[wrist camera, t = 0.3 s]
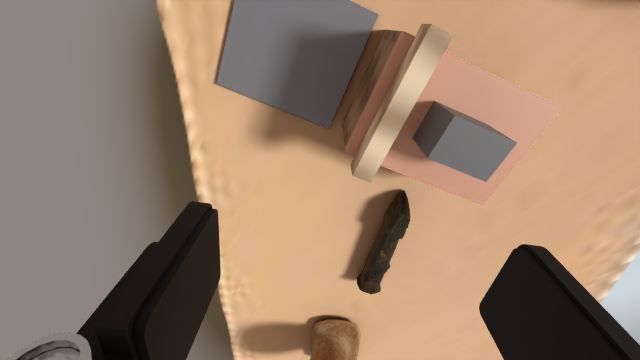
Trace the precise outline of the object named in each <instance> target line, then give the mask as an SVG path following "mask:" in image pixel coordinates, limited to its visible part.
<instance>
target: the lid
mask: <svg viewBox="0 0 640 360" xmlns="http://www.w3.org/2000/svg"><path fill="white" fill-rule="evenodd" d="M414 39H415V36H413V35H411V34H409V33H406V32H404V31H401V33H400V35H399V37H398V39H397V41H396V44H395V46H394V48H393V50H392V52H391V54H390V56H389V58H388V60H387V62H386V64H385V66H384V68H383V71H382V73H381V75H380V77H379V79H378V81H377V83H376V85H375V87H374V89H373V91H372V93H371V96H370V98H369V100H368V102H367V104H366V106H365V108H364V110H363V112H362V114H361V116H360V118H359V120H358V123H357V125H356V127H355V129H354V131H353V133H352V135H351V137H350V139H349V141H348V143H347V145H346V147H345V150H346V153H349V154H351V155H354V156H355V155H356V153H357V151H358V149H359V147H360V145H361V143H362V141H363V139H364V137H365V135H366V133H367V131H368V129H369V127H370V125H371V123H372V121H373V120H374V118H375V116H376V114H377V112H378V110H379V108H380V106H381V104H382V102H383V100H384V98H385V96H386V94H387V92H388V90H389V88H390V86H391V84H392V82H393V80H394V78H395V76H396V74H397V72H398V70H399V68H400V66H401V64H402V62H403V60H404V58H405V56H406V54H407V52H408V50H409V49H410V47H411V45H412V43H413V41H414ZM562 109H563V107H561V106H559V105H557V104H554V103H552V102H550V101H548V100H546V99H544V98H542V97H540V96H538V95H536V94H534V93H532V92H529V91H527V90H525V89H523V88H521V87H519V86H517V85H515V84H513V83H511V82H509V81H507V80H504V79H502V78H500V77H498V76H496V75H494V74H492V73H490V72H488V71H486V70H484V69H482V68H479V67H477V66H475V65H473V64H471V63H469V62H467V61H465V60H463V59H461V58H459V57H457V56H454V55H452V54H450V53H448V52H446V51H445V52H444V54H443V56H442V57H441V59H440V61H439V63H438V64H437V66H436V68H435V70H434V72H433V73H432V75H431V77H430V79H429V80H428V82H427V84H426V86H425V87H424V89H423V91H422V93H421V95H420V96H419V98H418V100H417V102H416V103H415V105H414V107H413V109H412V110H411V112H410V114H409V116H408V118H407V119H406V121H405V123H404V125H403V126H402V128H401V130H400V132H399V134H398V135H397V137H396V139H395V141H394V142H393V144H392V146H391V148H390V149H389V151H388V153H387V155H386V157H385V158H384V160H383V162H382V164H381V165H380V166H382V167H385V168H387V169H390V170H392V171H395V172H398V173H400V174H403V175H405V176H408V177H410V178H413V179H415V180H418V181H421V182H423V183H426V184H428V185H431V186H433V187H436V188H439V189H441V190H444V191H446V192H449V193H451V194H454V195H457V196H459V197H462V198H464V199H467V200H469V201H472V202H475V203H477V204H480V205H482V206H483V205H484V204H485V202H486V201H487V200H488V199H489V198H490V196H491V195H492V194H493V193H494V192H495V190H496V189H497V188H498V187H499V185H500V184H501V183H502V182H503V181H504V179H505V178H506V177H507V176H508V175H509V173H510V172H511V171H512V170H513V168H514V167H515V166H516V165H517V164H518V162H519V161H520V160H521V159H522V158H523V156H524V155H525V154H526V153H527V151H528V150H529V149H530V148H531V147H532V145H533V144H534V143H535V142H536V141H537V139H538V138H539V137H540V136H541V134H542V133H543V132H544V131H545V130H546V128H547V127H548V126H549V125H550V124H551V122H552V121H553V120H554V119H555V118H556V116H557V115H558V114H559V113H560V111H561V110H562Z"/></svg>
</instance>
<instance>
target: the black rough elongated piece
mask: <svg viewBox="0 0 640 360" xmlns="http://www.w3.org/2000/svg"><path fill="white" fill-rule="evenodd" d="M409 222H410V209H409V204H408V198H407V196H406V193H405V191H404V190H403V191H401V192H400V193H399V194H398V195H397V197H396V198H395V199H394V200H393V202H392V203H391V205H390V207H389V209H388V210H387V212H386V213H385V215H384V222H383V225H382V227H381V230H380V232H379V234H378V236H377V238H376V240H375V242H374V245H373V248H372V250H371V253H370V254H369V257H368V259H367V261H366V264H365V267H364V270H363V272H362V274H359V275H358V276H357V284H358V287H359V289H360V290H361V291H363V292H366V293H370V294H375V293H377V292H380V291H381V287H380V283H381V281H382V278H383V276H384V274H385V273H386V272H387V270H388V269H389V268H390V260H391V257H392V255H393V253H394V251H395V249H396V246H397V243H398V241H399V239H402V238H403V237H404V234H405V232H406V228H408V224H409Z"/></svg>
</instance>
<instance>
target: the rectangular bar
mask: <svg viewBox="0 0 640 360" xmlns="http://www.w3.org/2000/svg"><path fill="white" fill-rule="evenodd" d="M453 36H454V35H453V34H450V33H448V32H446V31H444V30H442V29H440V28H438V27H436V26H434V25H432V24H422V25H421V27H420V29H419V31H418V33H417V35H416V37H415V39H414V41H413V43H412V45H411V47H410V49H409V50H408V52H407V54H406V56H405V58H404V60H403V62H402V64H401V66H400V68H399V70H398V72H397V74H396V76H395V78H394V80H393V82H392V84H391V86H390V88H389V90H388V92H387V94H386V96H385V98H384V100H383V102H382V104H381V106H380V108H379V110H378V112H377V114H376V116H375V118H374V120H373V121H372V123H371V125H370V127H369V129H368V131H367V133H366V135H365V137H364V139H363V141H362V143H361V145H360V147H359V149H358V151H357V153H356V155H355V157H354V159H353V161H352V163H351V170H352V176H355V177H357V178H360V179H363V180H365V181H368V182H371V181H372V180H373V178H374V176H375V174H376V172H377V171H378V169H379V167H380V165H381V164H382V162H383V160H384V158H385V157H386V155H387V153H388V151H389V149H390V148H391V146H392V144H393V142H394V141H395V139H396V137H397V135H398V134H399V132H400V130H401V128H402V126H403V125H404V123H405V121H406V119H407V118H408V116H409V114H410V112H411V110H412V109H413V107H414V105H415V103H416V102H417V100H418V98H419V96H420V95H421V93H422V91H423V89H424V87H425V86H426V84H427V82H428V80H429V79H430V77H431V75H432V73H433V72H434V70H435V68H436V66H437V64H438V63H439V61H440V59H441V57H442V56H443V54H444V52H445V50H446V49H447V47H448V45H449V43H450V41H451V40H452V38H453Z"/></svg>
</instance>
